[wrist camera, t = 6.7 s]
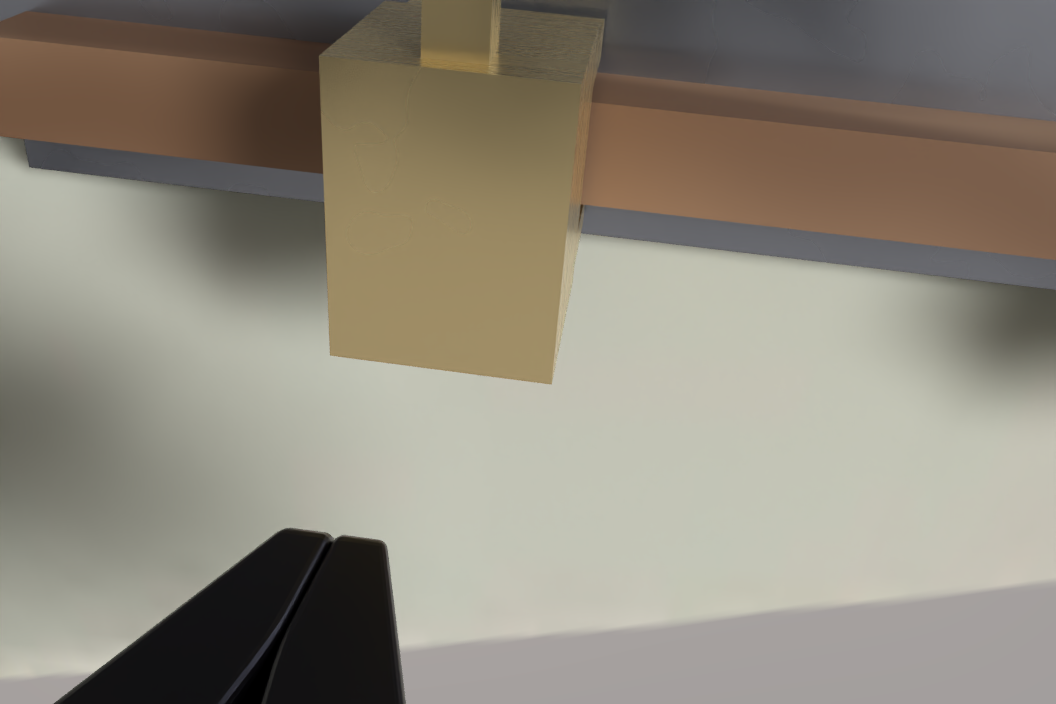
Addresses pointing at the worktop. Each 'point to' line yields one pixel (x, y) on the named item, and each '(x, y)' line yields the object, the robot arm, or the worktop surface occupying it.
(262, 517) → the worktop surface
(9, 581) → the worktop surface
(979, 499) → the worktop surface
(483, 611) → the worktop surface
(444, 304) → the slider
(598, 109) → the beam
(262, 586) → the robot arm
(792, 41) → the plate
